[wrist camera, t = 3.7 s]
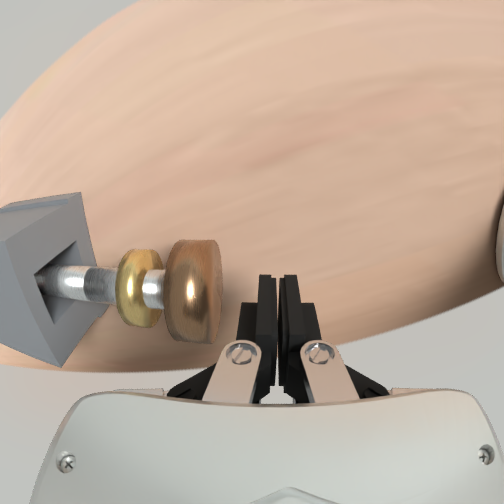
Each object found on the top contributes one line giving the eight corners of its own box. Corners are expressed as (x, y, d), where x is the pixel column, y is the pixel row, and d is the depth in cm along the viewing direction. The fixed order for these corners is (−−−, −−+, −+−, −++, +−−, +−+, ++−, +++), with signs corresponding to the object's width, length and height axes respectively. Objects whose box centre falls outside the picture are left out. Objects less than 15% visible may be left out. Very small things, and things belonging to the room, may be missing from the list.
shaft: (218, 225, 14) (194, 273, 10) (224, 303, 17) (209, 365, 12) (46, 229, 15) (-1, 261, 11) (65, 290, 17) (28, 329, 13)
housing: (80, 192, 15) (3, 235, 9) (109, 305, 19) (63, 370, 13) (10, 203, 16) (-51, 238, 10) (38, 294, 20) (-7, 341, 13)
